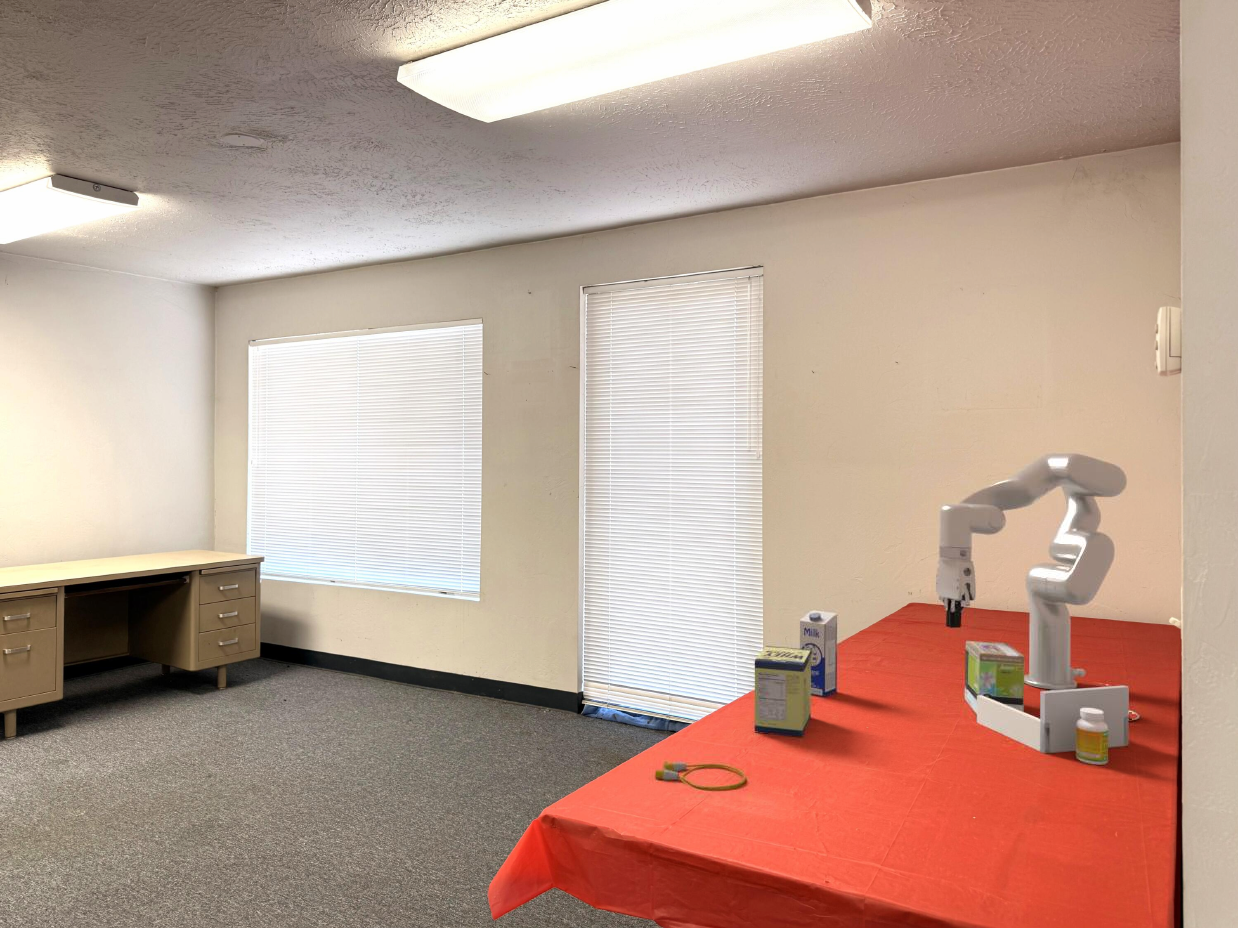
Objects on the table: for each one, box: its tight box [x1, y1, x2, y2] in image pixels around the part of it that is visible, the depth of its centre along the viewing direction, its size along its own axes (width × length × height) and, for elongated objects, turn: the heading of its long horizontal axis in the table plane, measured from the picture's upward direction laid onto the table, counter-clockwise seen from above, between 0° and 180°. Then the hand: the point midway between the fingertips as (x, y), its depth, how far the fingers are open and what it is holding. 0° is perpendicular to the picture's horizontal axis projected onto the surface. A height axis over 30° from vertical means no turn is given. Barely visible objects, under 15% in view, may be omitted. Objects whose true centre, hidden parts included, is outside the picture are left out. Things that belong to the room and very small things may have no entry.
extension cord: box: [654, 761, 747, 791], centre depth 150 cm, size 12×16×2 cm
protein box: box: [754, 645, 812, 738], centre depth 181 cm, size 10×16×16 cm
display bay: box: [976, 685, 1130, 754], centre depth 176 cm, size 20×20×12 cm
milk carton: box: [798, 609, 838, 698], centre depth 207 cm, size 7×7×20 cm
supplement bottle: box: [1075, 708, 1109, 766], centre depth 160 cm, size 5×5×10 cm
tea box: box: [964, 640, 1025, 715], centre depth 193 cm, size 15×10×15 cm
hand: (953, 626), depth 206 cm, fingers closed
